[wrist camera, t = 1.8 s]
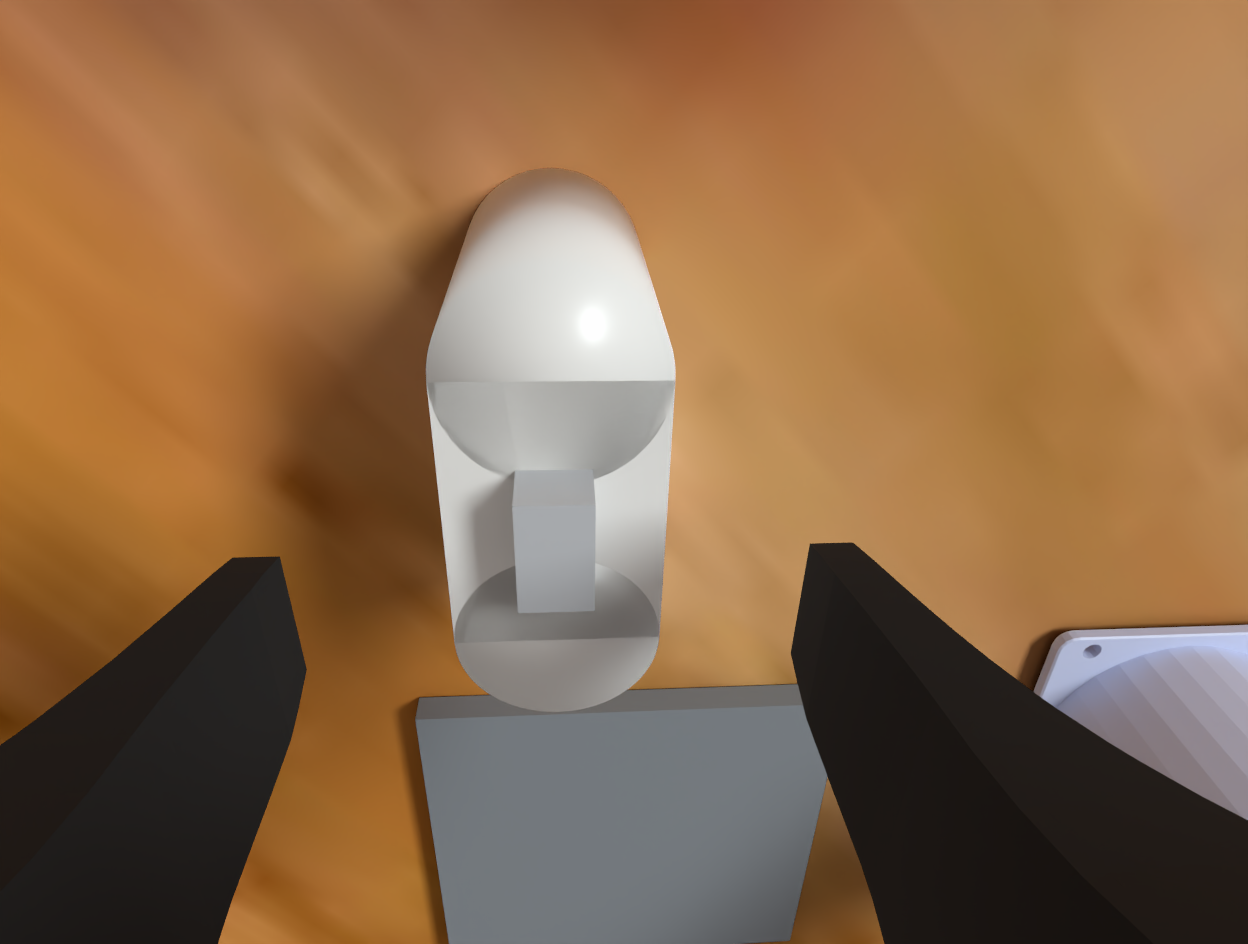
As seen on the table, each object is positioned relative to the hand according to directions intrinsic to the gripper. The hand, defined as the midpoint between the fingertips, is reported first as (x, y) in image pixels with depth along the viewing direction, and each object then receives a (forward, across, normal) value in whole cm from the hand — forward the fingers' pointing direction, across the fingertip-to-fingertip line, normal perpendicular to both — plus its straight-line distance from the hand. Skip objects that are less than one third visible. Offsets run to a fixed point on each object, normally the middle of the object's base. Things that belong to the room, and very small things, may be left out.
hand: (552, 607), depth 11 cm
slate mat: (+8, -2, +16) cm, 18 cm away
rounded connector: (+8, 0, 0) cm, 8 cm away
